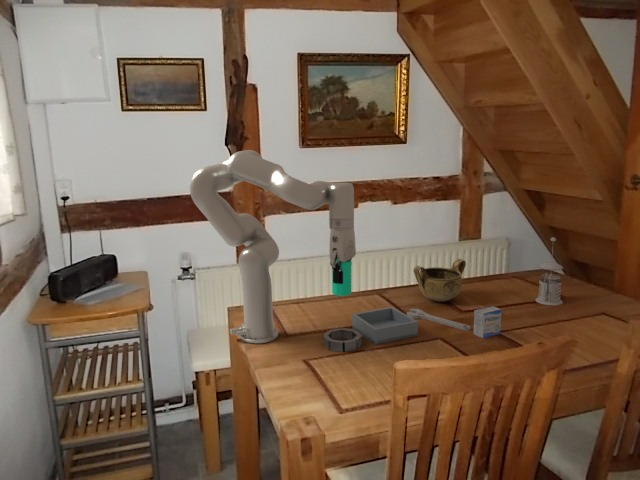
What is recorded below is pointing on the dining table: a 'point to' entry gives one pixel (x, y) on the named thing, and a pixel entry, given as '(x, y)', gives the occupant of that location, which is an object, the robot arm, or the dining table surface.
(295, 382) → the dining table surface
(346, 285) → the candle
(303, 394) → the dining table surface
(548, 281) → the french press
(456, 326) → the adjustable wrench
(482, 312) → the medicine box
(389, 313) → the bin
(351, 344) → the collar
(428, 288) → the ceramic bowl
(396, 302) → the dining table surface
